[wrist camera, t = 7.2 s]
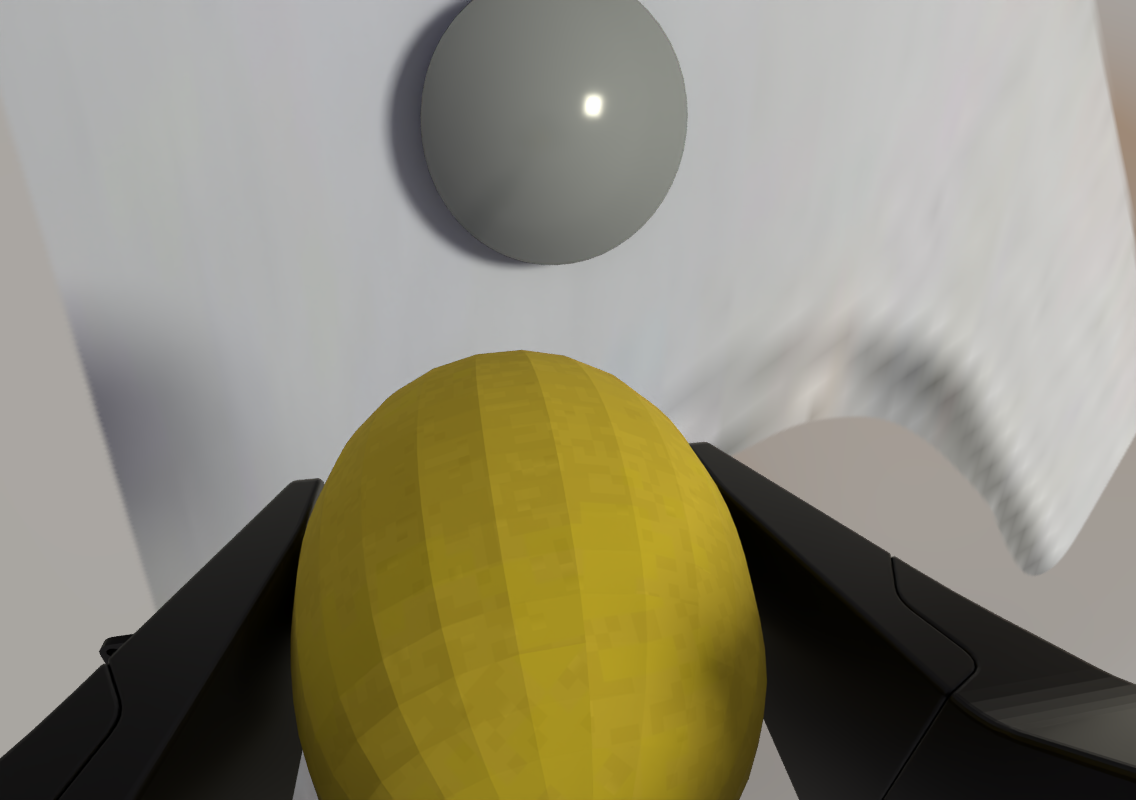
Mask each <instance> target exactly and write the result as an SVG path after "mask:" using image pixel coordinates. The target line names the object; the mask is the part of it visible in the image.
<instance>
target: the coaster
mask: <svg viewBox="0 0 1136 800" xmlns="http://www.w3.org/2000/svg"><path fill="white" fill-rule="evenodd" d="M687 116H688V115H687V96H686V91H685V85H684V79H683V75H682V72H681V68H680V65H679V62H678V59H677V56H676V54H675V52H674V50H673V47H672V45H671V43H670V41H669V39H668V38H667V36H666V34H665V33H664V31H663V29H662V28H661V26H660V25H659V23H658V22H657V21H656V20H655V18H654V17H653V16H652V15H651V13H650V12H649V11H648V10H647V9H646V8H645V7H644V6H643V5H642V4H641V3H640V2H639V1H638V0H473V1H472V2H470V3H469V4H468V5H467V6H466V7H465V8H464V9H463V10H462V11H461V12H460V13H459V14H458V15H457V16H456V17H455V19H454V20H453V21H452V23H451V24H450V26H449V27H448V28H447V30H446V31H445V33H444V34H443V36H442V38H441V39H440V41H439V43H438V45H437V47H436V49H435V51H434V53H433V56H432V59H431V61H430V64H429V67H428V70H427V73H426V78H425V82H424V87H423V92H422V103H421V136H422V143H423V149H424V155H425V158H426V162H427V165H428V169H429V173H430V175H431V177H432V180H433V182H434V184H435V187H436V189H437V191H438V193H439V195H440V196H441V198H442V200H443V202H444V203H445V205H446V207H447V208H448V209H449V210H450V212H451V213H452V214H453V216H454V217H455V218H456V220H457V221H458V222H459V223H460V224H461V225H462V226H463V227H464V228H465V229H466V230H467V231H468V232H469V233H470V234H471V235H473V236H474V237H475V238H476V239H478V240H479V241H480V242H482V243H483V244H485V245H486V246H488V247H490V248H491V249H493V250H495V251H496V252H499V253H501V254H503V255H506V256H508V257H510V258H513V259H517V260H520V261H523V262H528V263H534V264H541V265H561V264H571V263H576V262H580V261H584V260H588V259H591V258H594V257H596V256H599V255H602V254H604V253H606V252H608V251H609V250H611V249H613V248H615V247H617V246H618V245H620V244H621V243H623V242H624V241H626V240H627V239H629V238H630V237H631V236H632V235H633V234H634V233H636V232H637V231H638V230H639V229H640V228H641V227H642V226H643V225H644V224H645V223H646V222H647V221H648V220H649V219H650V217H651V216H652V215H653V214H654V213H655V211H656V210H657V208H658V207H659V206H660V204H661V203H662V201H663V200H664V198H665V196H666V194H667V193H668V191H669V189H670V187H671V185H672V183H673V181H674V178H675V176H676V173H677V171H678V168H679V165H680V161H681V158H682V155H683V151H684V145H685V139H686V132H687Z"/></svg>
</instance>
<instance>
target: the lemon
mask: <svg viewBox="0 0 1136 800" xmlns="http://www.w3.org/2000/svg"><path fill="white" fill-rule="evenodd" d="M291 679H292V692H293V703H294V709H295V716H296V722H297V729H298V735H299V739H300V742H301V746H302V749H303V753H304V756H305V760H306V763H307V767H308V770H309V773H310V776H311V779H312V782H313V785H314V788H315V790H316V793H317V796H318V799H319V800H739V799H740V797H741V795H742V792H743V790H744V788H745V786H746V783H747V781H748V779H749V776H750V772H751V769H752V765H753V761H754V758H755V754H756V751H757V747H758V743H759V738H760V733H761V728H762V722H763V717H764V707H765V697H766V687H767V673H766V656H765V645H764V639H763V634H762V628H761V622H760V617H759V612H758V608H757V604H756V600H755V595H754V591H753V587H752V583H751V579H750V575H749V571H748V566H747V562H746V558H745V555H744V551H743V548H742V545H741V542H740V539H739V536H738V532H737V529H736V527H735V524H734V522H733V519H732V517H731V514H730V512H729V509H728V507H727V505H726V503H725V501H724V499H723V497H722V495H721V493H720V491H719V489H718V487H717V485H716V484H715V482H714V481H713V479H712V478H711V476H710V475H709V473H708V471H707V470H706V468H705V467H704V465H703V464H702V463H701V461H700V460H699V458H698V457H697V455H696V454H695V452H694V451H693V449H692V448H691V447H690V445H689V444H688V442H687V441H686V439H685V438H684V436H683V435H682V434H681V433H680V431H679V430H678V429H677V428H676V426H675V425H674V424H673V423H672V422H671V420H670V419H669V418H668V417H667V416H666V415H664V414H663V413H662V412H661V411H660V410H659V409H658V408H657V407H656V406H654V405H653V404H652V403H650V402H649V401H648V400H646V399H645V398H644V397H642V396H641V395H640V394H638V393H637V392H636V391H634V390H633V389H632V388H630V387H629V386H628V385H626V384H625V383H623V382H622V381H621V380H619V379H618V378H617V377H615V376H614V375H612V374H609V373H607V372H605V371H602V370H600V369H597V368H595V367H592V366H589V365H587V364H584V363H582V362H579V361H577V360H574V359H571V358H569V357H566V356H563V355H555V354H548V353H540V352H533V351H525V350H517V351H507V352H497V353H487V354H477V355H473V356H470V357H467V358H464V359H461V360H458V361H455V362H452V363H449V364H446V365H443V366H440V367H437V368H434V369H432V370H430V371H429V372H427V373H426V374H424V375H422V376H421V377H419V378H417V379H416V380H414V381H412V382H411V383H409V384H407V385H406V386H404V387H402V388H401V389H399V390H398V391H396V392H395V393H393V394H392V395H391V396H390V397H389V398H387V399H386V400H385V401H384V402H383V403H382V404H381V406H380V407H379V408H378V409H377V410H376V411H375V412H374V413H373V414H372V415H371V416H370V417H369V418H368V419H367V420H366V421H365V422H364V423H363V424H362V425H361V426H360V427H359V428H358V429H357V431H356V432H355V433H354V434H353V436H352V437H351V438H350V440H349V441H348V442H347V443H346V445H345V447H344V449H343V450H342V452H341V454H340V456H339V458H338V459H337V461H336V463H335V465H334V467H333V469H332V471H331V473H330V475H329V477H328V479H327V481H326V483H325V485H324V487H323V489H322V491H321V493H320V495H319V497H318V499H317V501H316V503H315V506H314V508H313V511H312V513H311V516H310V518H309V521H308V524H307V528H306V531H305V535H304V538H303V542H302V547H301V553H300V558H299V564H298V571H297V579H296V587H295V595H294V603H293V612H292V625H291Z"/></svg>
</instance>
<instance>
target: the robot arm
mask: <svg viewBox="0 0 1136 800" xmlns="http://www.w3.org/2000/svg"><path fill="white" fill-rule="evenodd" d="M688 444H689V445H690V447H691V448H692V449H693V451H694V452H695V454H696V455H697V457H698V458H699V460H700V461H701V463H702V464H703V465H704V467H705V468H706V470H707V471H708V473H709V475H710V476H711V478H712V479H713V481H714V482H715V484H716V485H717V487H718V489H719V491H720V493H721V495H722V497H723V499H724V501H725V503H726V505H727V507H728V509H729V512H730V514H731V517H732V519H733V522H734V524H735V527H736V529H737V532H738V536H739V539H740V542H741V545H742V548H743V551H744V555H745V558H746V562H747V566H748V571H749V575H750V579H751V583H752V587H753V591H754V595H755V600H756V604H757V608H758V612H759V617H760V622H761V628H762V634H763V639H764V645H765V656H766V673H767V687H766V697H765V707H764V717H763V719H764V721H765V723H766V725H767V728H768V730H769V732H770V734H771V737H772V739H773V741H774V744H775V746H776V748H777V750H778V753H779V755H780V757H781V759H782V762H783V764H784V766H785V769H786V771H787V773H788V775H789V777H790V780H791V782H792V785H793V787H794V789H795V791H796V794H797V796H798V798H799V800H1136V684H1133V683H1131V682H1128V681H1125V680H1123V679H1121V678H1118V677H1116V676H1113V675H1112V674H1109V673H1107V672H1105V671H1103V670H1101V669H1099V668H1097V667H1095V666H1093V665H1091V664H1089V663H1087V662H1086V661H1084V660H1082V659H1080V658H1078V657H1076V656H1074V655H1072V654H1070V653H1069V652H1067V651H1065V650H1063V649H1061V648H1059V647H1057V646H1055V645H1053V644H1051V643H1050V642H1048V641H1046V640H1044V639H1042V638H1040V637H1038V636H1036V635H1034V634H1032V633H1031V632H1029V631H1027V630H1025V629H1023V628H1021V627H1019V626H1017V625H1015V624H1013V623H1012V622H1010V621H1008V620H1006V619H1003V618H1002V617H1000V616H998V615H996V614H994V613H993V612H991V611H989V610H987V609H985V608H983V607H981V606H980V605H978V604H976V603H974V602H972V601H970V600H969V599H967V598H965V597H963V596H961V595H960V594H958V593H956V592H954V591H952V590H951V589H949V588H947V587H945V586H944V585H942V584H940V583H939V582H937V581H935V580H933V579H932V578H930V577H928V576H927V575H925V574H923V573H921V572H920V571H918V570H917V569H915V568H913V567H911V566H910V565H908V564H907V563H905V562H903V561H902V560H900V559H899V558H897V557H895V556H894V557H891V555H890V553H888V552H887V551H885V550H884V549H882V548H880V547H879V546H877V545H875V544H874V543H872V542H870V541H869V540H867V539H866V538H864V537H862V536H861V535H859V534H857V533H856V532H854V531H852V530H851V529H849V528H847V527H846V526H844V525H842V524H841V523H839V522H838V521H836V520H834V519H833V518H831V517H829V516H828V515H826V514H825V513H823V512H821V511H820V510H818V509H816V508H815V507H813V506H811V505H810V504H808V503H806V502H805V501H803V500H802V499H800V498H798V497H797V496H795V495H793V494H792V493H790V492H789V491H787V490H785V489H784V488H782V487H780V486H779V485H777V484H775V483H774V482H772V481H770V480H769V479H767V478H766V477H764V476H762V475H761V474H759V473H757V472H756V471H754V470H752V469H751V468H749V467H748V466H746V465H744V464H743V463H741V462H739V461H738V460H736V459H734V458H733V457H731V456H730V455H728V454H726V453H725V452H723V451H721V450H720V449H718V448H716V447H715V446H713V445H711V444H710V443H707V442H697V443H688ZM324 485H325V484H324V482H323V481H322V480H321V479H319V478H315V479H304V480H296V481H293V482H291V483H290V484H289V485H287V486H286V487H285V488H284V489H283V490H282V491H281V492H280V493H279V494H278V495H277V496H276V497H275V498H274V499H273V500H272V501H271V502H270V503H269V504H268V505H267V506H266V507H265V508H264V509H263V510H262V511H261V512H260V513H259V514H258V515H256V516H255V517H254V518H253V519H252V520H251V521H250V522H249V523H248V524H247V525H246V526H245V527H244V528H243V529H242V530H241V531H240V532H239V533H238V534H237V535H236V536H235V537H234V538H233V539H232V540H231V541H230V542H229V543H228V544H226V545H225V546H224V547H223V548H222V549H221V550H220V551H219V552H218V553H217V554H216V555H215V556H214V557H213V558H212V559H211V560H210V561H209V562H208V563H207V564H206V565H205V566H204V567H203V568H202V569H201V570H200V571H199V572H198V573H196V574H195V575H194V576H193V577H192V578H191V579H190V580H189V581H188V582H187V583H186V584H185V585H184V586H183V587H182V588H181V589H180V590H179V591H178V592H177V593H176V594H175V595H174V596H173V597H172V598H171V599H170V600H169V601H168V602H167V603H165V604H164V605H163V606H162V607H161V608H160V609H159V610H158V611H157V612H156V613H155V614H154V615H153V616H152V617H151V618H150V619H149V620H148V621H147V622H146V623H145V624H144V625H143V626H142V627H141V628H140V629H139V630H138V631H137V632H136V633H134V634H130V635H123V636H116V637H111V638H108V639H106V640H105V641H104V643H103V645H102V647H101V649H100V651H99V652H100V655H101V657H102V658H103V660H104V662H105V663H106V664H103V665H101V666H100V667H99V668H98V669H97V670H96V671H95V672H94V673H93V674H92V675H91V676H90V677H89V678H88V679H87V680H86V681H85V682H83V683H82V684H81V685H80V686H79V687H78V688H77V689H76V690H75V691H74V692H73V693H72V694H71V695H70V696H69V697H68V698H67V699H66V700H65V701H64V702H62V703H61V704H60V705H59V706H58V707H57V708H56V709H55V710H54V711H53V712H52V713H51V714H50V715H48V716H47V717H46V718H45V719H44V720H43V721H42V722H41V723H40V724H39V725H38V726H37V727H35V728H34V729H33V730H32V731H31V732H30V733H29V734H28V735H27V736H25V737H24V738H23V739H22V740H21V741H20V742H18V743H17V744H16V745H15V746H14V747H13V748H12V749H10V750H9V751H8V752H7V753H6V754H5V755H3V757H1V758H0V800H292V799H293V795H294V790H295V785H296V780H297V775H298V770H299V765H300V760H301V755H302V750H303V749H302V746H301V742H300V739H299V735H298V729H297V722H296V716H295V709H294V703H293V692H292V679H291V625H292V612H293V603H294V595H295V587H296V579H297V571H298V564H299V558H300V553H301V547H302V542H303V538H304V535H305V531H306V528H307V524H308V521H309V518H310V516H311V513H312V511H313V508H314V506H315V503H316V501H317V499H318V497H319V495H320V493H321V491H322V489H323V487H324Z"/></svg>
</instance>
